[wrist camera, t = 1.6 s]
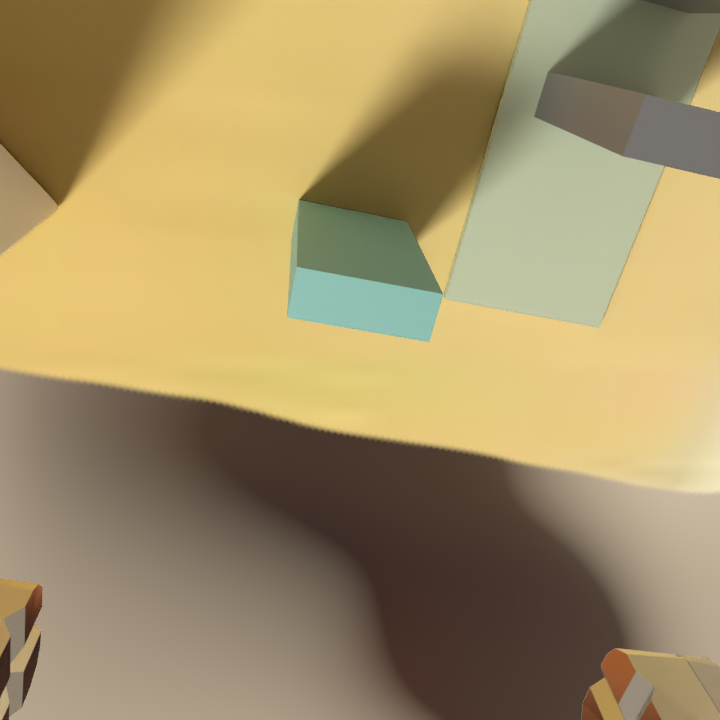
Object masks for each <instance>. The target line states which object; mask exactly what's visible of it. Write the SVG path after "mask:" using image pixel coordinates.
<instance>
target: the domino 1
mask: <svg viewBox="0 0 720 720" xmlns="http://www.w3.org/2000/svg"><path fill="white" fill-rule="evenodd" d="M442 296H443V293H442V291H441V289H440V287H439V285H438V283H437V281H436V279H435V277H434V275H433V273H432V271H431V269H430V267H429V264H428V262H427V260H426V258H425V256H424V254H423V252H422V250H421V248H420V246H419V244H418V242H417V240H416V238H415V236H414V234H413V232H412V230H411V228H410V226H409V224H408V222H407V221H402V220H397V219H392V218H387V217H382V216H377V215H373V214H368V213H363V212H358V211H353V210H348V209H343V208H338V207H333V206H328V205H323V204H318V203H313V202H308V201H303V200H299V201H298V207H297V212H296V218H295V223H294V229H293V234H292V242H291V260H290V277H289V294H288V311H287V317H288V318H293V319H299V320H305V321H311V322H316V323H322V324H328V325H334V326H340V327H345V328H351V329H357V330H363V331H368V332H374V333H380V334H386V335H391V336H397V337H403V338H409V339H414V340H420V341H426V342H429V341H430V337H431V334H432V331H433V327H434V324H435V320H436V317H437V313H438V310H439V307H440V303H441V300H442Z"/></svg>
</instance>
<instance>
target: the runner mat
mask: <svg viewBox="0 0 720 720" xmlns="http://www.w3.org/2000/svg"><path fill="white" fill-rule="evenodd" d="M719 30H720V13H687V12H683V11H679V10H676V9H672V8H668V7H665V6H661V5H657V4H654V3H650V2H646V1H642V0H530V1H529V4H528V8H527V11H526V15H525V18H524V22H523V25H522V28H521V32H520V35H519V39H518V42H517V46H516V49H515V52H514V56H513V59H512V63H511V66H510V70H509V73H508V76H507V80H506V83H505V87H504V90H503V94H502V97H501V100H500V104H499V107H498V111H497V114H496V118H495V121H494V124H493V128H492V131H491V135H490V138H489V142H488V145H487V148H486V152H485V155H484V159H483V162H482V166H481V169H480V172H479V176H478V179H477V183H476V186H475V190H474V193H473V197H472V200H471V203H470V207H469V210H468V214H467V217H466V221H465V224H464V227H463V231H462V234H461V238H460V241H459V245H458V248H457V251H456V255H455V258H454V262H453V265H452V269H451V272H450V275H449V279H448V282H447V286H446V289H445V293H444V298H445V300H450V301H456V302H461V303H466V304H472V305H477V306H483V307H488V308H494V309H499V310H505V311H510V312H515V313H521V314H526V315H532V316H537V317H543V318H548V319H553V320H559V321H564V322H570V323H575V324H581V325H586V326H591V327H597V328H599V326H600V324H601V321H602V319H603V316H604V314H605V312H606V309H607V307H608V304H609V302H610V299H611V297H612V294H613V292H614V289H615V287H616V284H617V282H618V279H619V277H620V274H621V272H622V270H623V267H624V265H625V262H626V260H627V257H628V255H629V252H630V250H631V247H632V245H633V242H634V240H635V237H636V235H637V233H638V230H639V228H640V225H641V223H642V220H643V218H644V215H645V213H646V210H647V208H648V205H649V203H650V200H651V198H652V196H653V193H654V191H655V188H656V186H657V183H658V181H659V178H660V176H661V173H662V171H663V168H664V166H663V165H658V164H654V163H650V162H645V161H641V160H637V159H632V158H628V157H623V156H621V155H619V154H616V153H614V152H612V151H610V150H607V149H605V148H603V147H601V146H598V145H596V144H594V143H592V142H589V141H587V140H585V139H583V138H580V137H578V136H576V135H574V134H572V133H569V132H567V131H565V130H563V129H560V128H558V127H556V126H554V125H551V124H549V123H547V122H545V121H542V120H540V119H538V118H536V117H534V115H535V112H536V108H537V105H538V102H539V99H540V96H541V92H542V89H543V86H544V83H545V80H546V77H547V73H548V71H549V72H553V73H557V74H562V75H566V76H570V77H574V78H579V79H583V80H587V81H591V82H596V83H600V84H604V85H608V86H613V87H617V88H621V89H625V90H630V91H634V92H638V93H642V94H647V95H651V96H655V97H659V98H663V99H667V100H671V101H675V102H679V103H683V104H687V105H689V104H690V102H691V99H692V97H693V94H694V92H695V89H696V87H697V84H698V82H699V80H700V77H701V75H702V72H703V70H704V67H705V65H706V62H707V60H708V57H709V55H710V52H711V50H712V47H713V45H714V43H715V40H716V38H717V35H718V33H719Z"/></svg>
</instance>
